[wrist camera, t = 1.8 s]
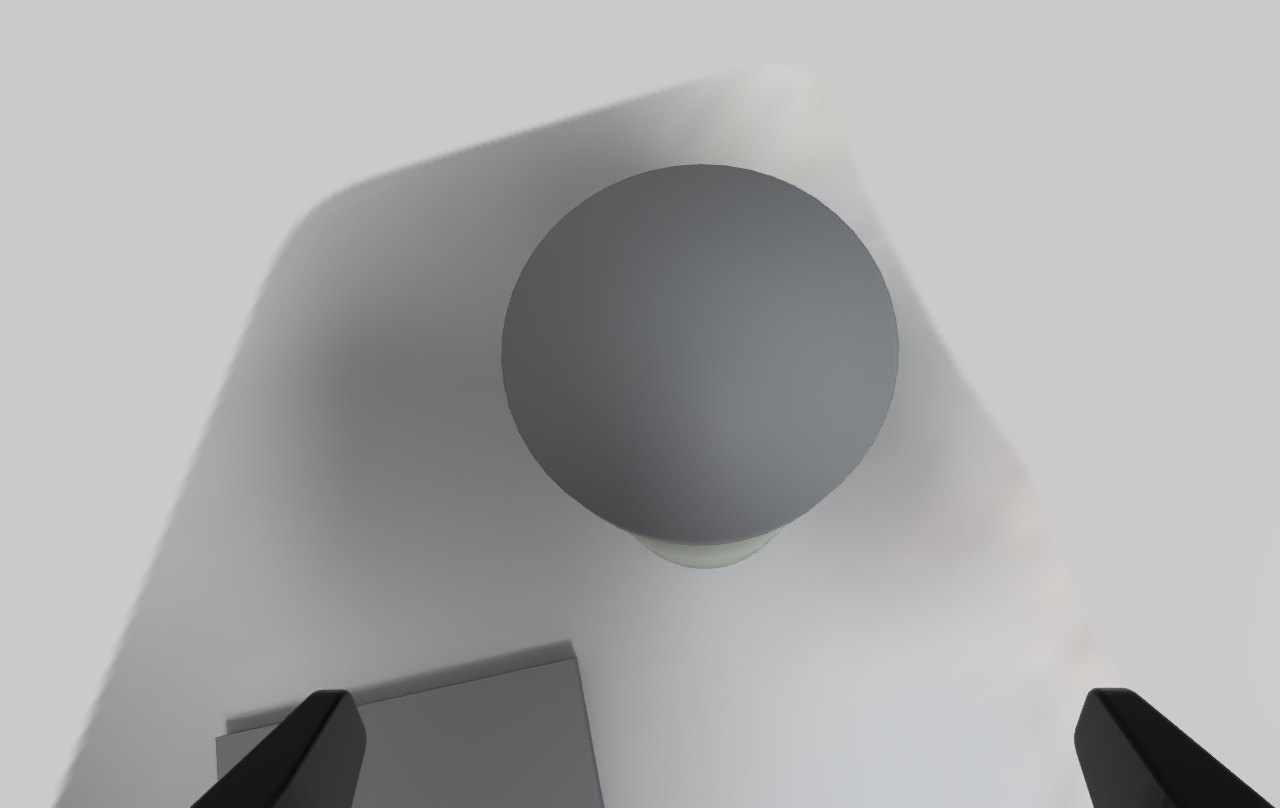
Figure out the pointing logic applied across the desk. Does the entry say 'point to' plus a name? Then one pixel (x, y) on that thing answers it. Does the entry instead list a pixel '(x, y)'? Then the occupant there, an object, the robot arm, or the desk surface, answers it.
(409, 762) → the charcoal pad
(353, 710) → the robot arm
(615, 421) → the tin canister
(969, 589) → the desk surface
